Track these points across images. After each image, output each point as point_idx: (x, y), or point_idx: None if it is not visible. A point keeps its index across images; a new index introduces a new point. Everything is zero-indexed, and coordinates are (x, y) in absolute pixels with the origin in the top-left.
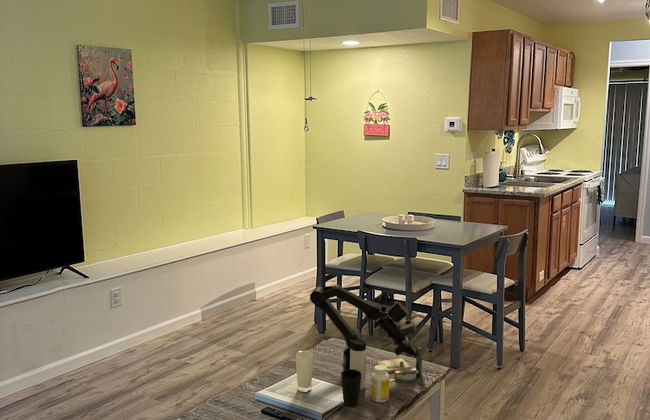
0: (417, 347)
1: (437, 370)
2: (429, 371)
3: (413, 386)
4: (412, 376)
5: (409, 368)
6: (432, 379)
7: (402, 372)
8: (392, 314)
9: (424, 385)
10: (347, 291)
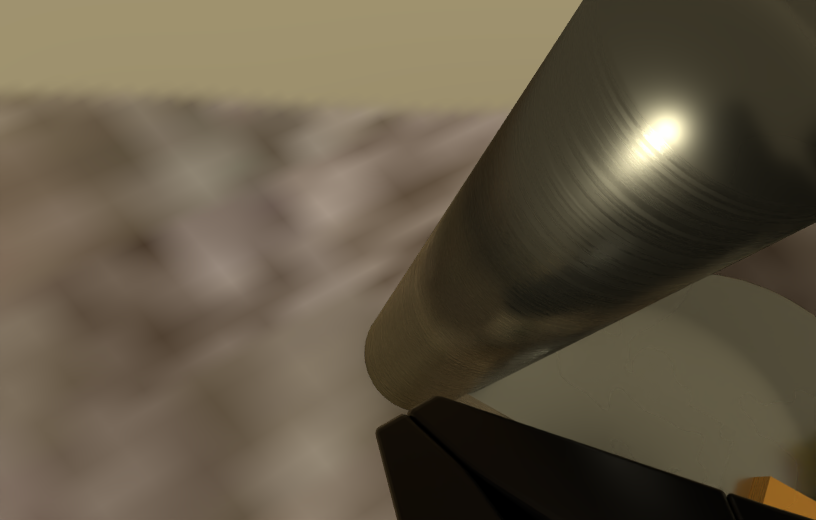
0: (803, 165)
1: (3, 187)
2: (140, 282)
3: None
4: (743, 286)
5: None
6: (392, 114)
7: (811, 505)
8: None
9: None
10: None
